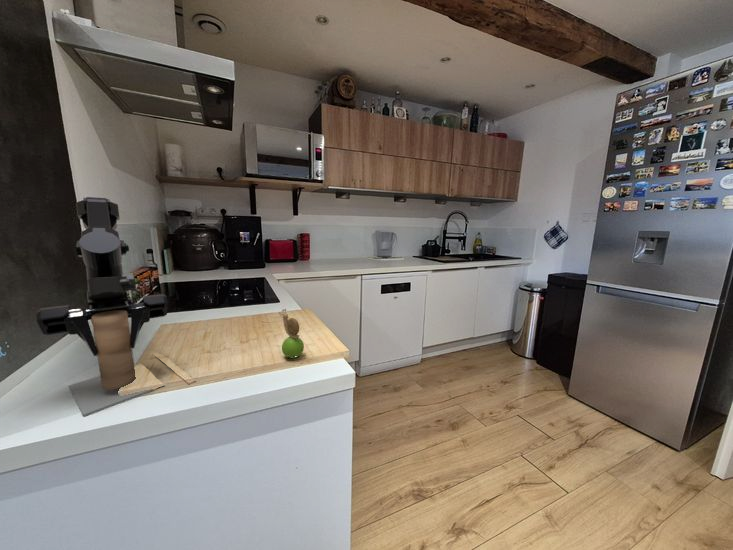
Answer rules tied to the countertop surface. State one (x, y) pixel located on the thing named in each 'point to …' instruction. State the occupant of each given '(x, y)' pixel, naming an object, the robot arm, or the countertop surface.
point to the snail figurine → (292, 337)
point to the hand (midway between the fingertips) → (114, 351)
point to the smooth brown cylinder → (114, 348)
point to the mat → (98, 396)
